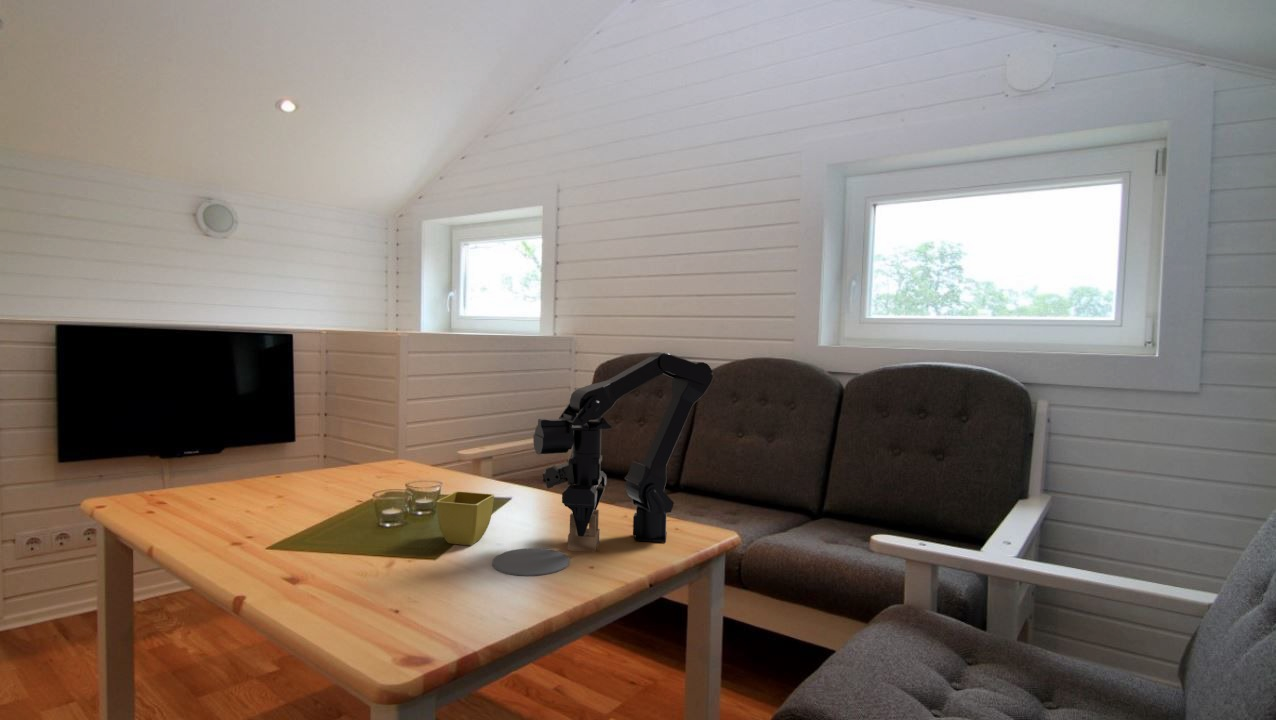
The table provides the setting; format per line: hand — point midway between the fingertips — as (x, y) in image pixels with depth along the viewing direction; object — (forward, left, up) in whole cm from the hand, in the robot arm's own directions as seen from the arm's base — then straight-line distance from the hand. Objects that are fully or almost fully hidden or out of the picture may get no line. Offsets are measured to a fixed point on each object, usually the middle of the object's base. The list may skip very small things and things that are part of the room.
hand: (584, 529), depth 134 cm
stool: (0, 0, -4) cm, 4 cm away
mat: (+8, +11, -3) cm, 14 cm away
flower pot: (+24, +1, -4) cm, 24 cm away
